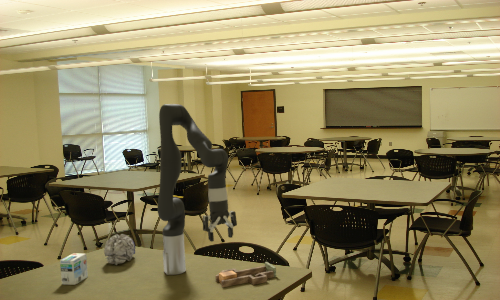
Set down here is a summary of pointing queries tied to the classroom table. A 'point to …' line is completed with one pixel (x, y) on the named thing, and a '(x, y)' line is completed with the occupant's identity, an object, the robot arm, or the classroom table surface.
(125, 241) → the educational model
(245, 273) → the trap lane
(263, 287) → the classroom table surface
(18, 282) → the classroom table surface
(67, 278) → the light bulb box
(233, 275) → the block
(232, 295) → the classroom table surface
